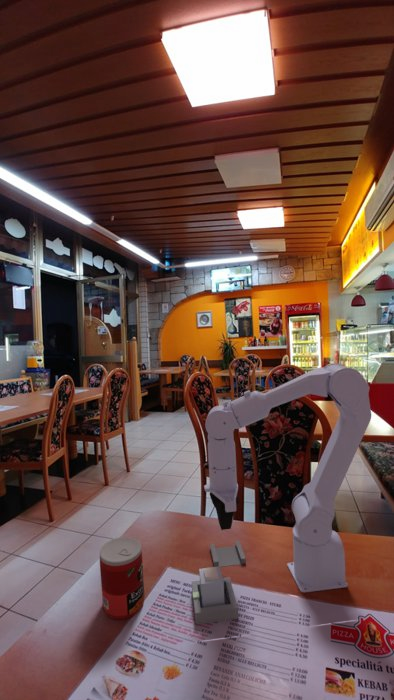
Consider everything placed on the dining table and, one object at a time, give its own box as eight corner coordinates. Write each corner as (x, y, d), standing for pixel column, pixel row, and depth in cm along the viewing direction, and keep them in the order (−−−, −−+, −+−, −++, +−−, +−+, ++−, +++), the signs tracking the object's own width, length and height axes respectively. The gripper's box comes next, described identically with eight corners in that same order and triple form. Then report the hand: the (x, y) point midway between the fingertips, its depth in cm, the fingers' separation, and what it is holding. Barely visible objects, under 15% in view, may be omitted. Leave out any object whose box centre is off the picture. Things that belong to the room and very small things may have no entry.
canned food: (136, 623, 60) (132, 564, 60) (95, 618, 62) (91, 560, 61) (150, 591, 68) (147, 538, 67) (113, 586, 70) (110, 535, 69)
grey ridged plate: (239, 546, 81) (239, 540, 80) (245, 564, 74) (245, 558, 74) (210, 549, 80) (210, 543, 80) (214, 568, 74) (214, 562, 73)
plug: (221, 596, 66) (219, 563, 65) (225, 612, 62) (223, 578, 61) (200, 598, 65) (199, 565, 65) (203, 615, 61) (201, 580, 61)
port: (230, 587, 68) (229, 575, 68) (238, 619, 60) (237, 606, 60) (191, 592, 67) (191, 580, 67) (195, 625, 59) (194, 611, 59)
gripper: (199, 454, 77) (202, 511, 78) (208, 481, 63) (212, 551, 64) (229, 451, 78) (232, 508, 79) (245, 477, 64) (248, 547, 65)
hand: (225, 527), depth 71 cm, fingers closed
